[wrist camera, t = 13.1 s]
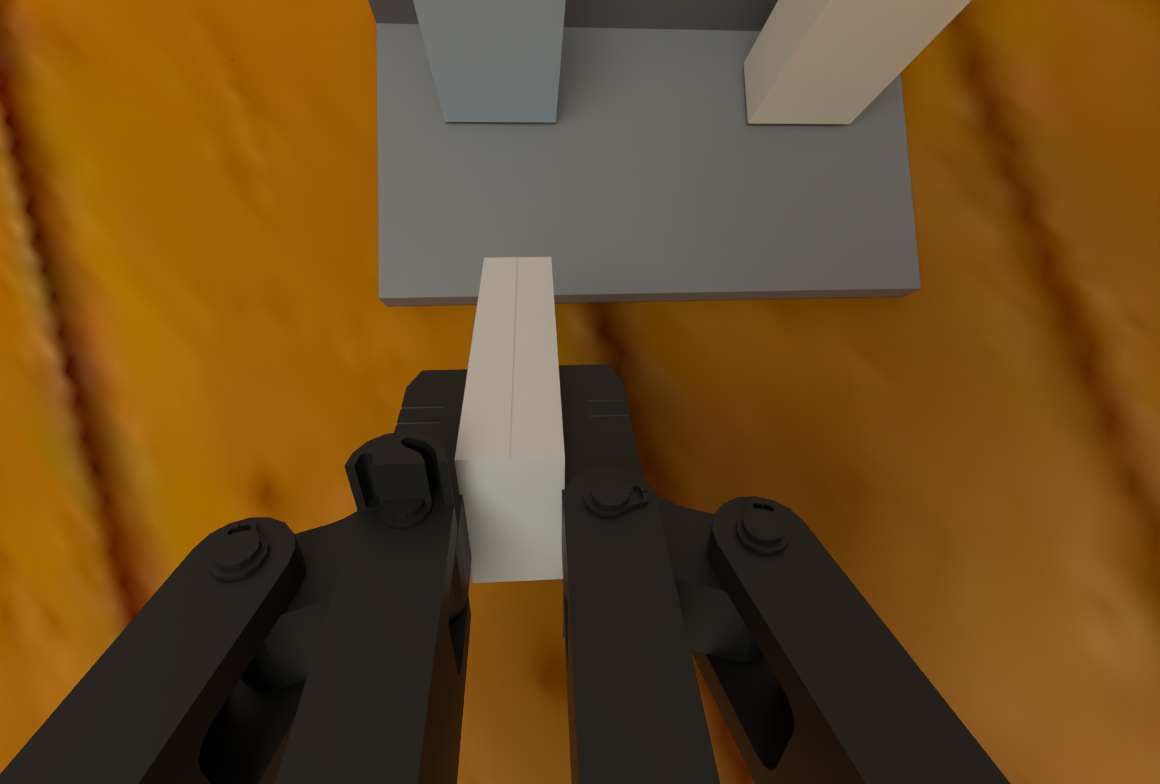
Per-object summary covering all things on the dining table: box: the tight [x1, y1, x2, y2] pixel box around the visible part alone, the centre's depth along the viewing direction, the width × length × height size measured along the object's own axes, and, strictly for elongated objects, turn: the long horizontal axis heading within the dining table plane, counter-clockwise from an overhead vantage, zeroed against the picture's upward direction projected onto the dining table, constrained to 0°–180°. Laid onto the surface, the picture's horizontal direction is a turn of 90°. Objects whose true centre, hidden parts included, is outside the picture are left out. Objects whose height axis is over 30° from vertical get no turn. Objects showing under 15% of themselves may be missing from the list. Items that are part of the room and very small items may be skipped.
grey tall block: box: [413, 0, 566, 122], centre depth 22 cm, size 5×3×11 cm, turn 92°
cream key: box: [744, 0, 971, 124], centre depth 23 cm, size 5×3×11 cm, turn 92°
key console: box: [368, 0, 921, 306], centre depth 27 cm, size 25×16×5 cm, turn 92°
